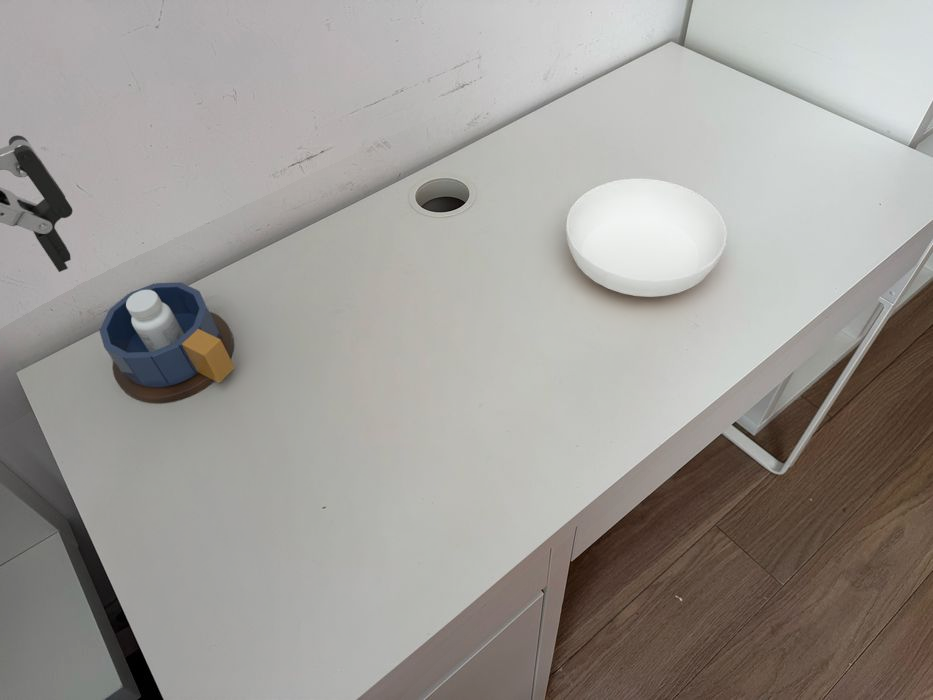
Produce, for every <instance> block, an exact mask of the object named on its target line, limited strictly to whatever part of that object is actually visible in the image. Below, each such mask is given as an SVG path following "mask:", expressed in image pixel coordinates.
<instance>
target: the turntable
mask: <svg viewBox="0 0 933 700" xmlns="http://www.w3.org/2000/svg"><path fill="white" fill-rule="evenodd" d="M210 313H211V315H212V317H213V319H214V321H215V323H216V326H217V328H218V330H219V332H220V340H221V341H222V343H223V345H224V347H225V349H226V351H227V353H228V355H229V357H230V359H231V360H232V358H233V354H234V349H235V340H234V336H233V334H232V331H231V329H230V327H229V325H228V324H227V322H226V321H225V320H224V318H222V317H221V316H220V315H218V314H217V313H215V312H213V311H210ZM112 374H113V376H114V379H115V381H116V382H117V384H118V386H119V387H120V388H121V390H122V391H123V392H124V393H125V394H126V395H127V396H129V397H130V398H132V399H135V400H136V401H139V402H143V403H147V404H168V403H174V402H178V401H181V400H184V399H187V398H190V397H192V396H194V395H196V394H198V393H200V392H202V391H203V390H205V389H206V388H208V387H210V385H212V384H213V383H214V382H215V381H214V380H212V379H210V378H208V377H206V376H205V375H203V374H201V373H197V374H196V375H194V376H193V377H191V378H189V379H187V380H185V381H183V382H180V383H177V384H174V385H170V386H165V387H147V386H142V385H139V384H137V383H135V382H133V381H132V380H130V379H129V378H128V377H126V376H124V374H123V373H122V372H121V370H120V369H119V368H118V366H117V365H116V363H115V362H114V361H113V360H112Z"/></svg>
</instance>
